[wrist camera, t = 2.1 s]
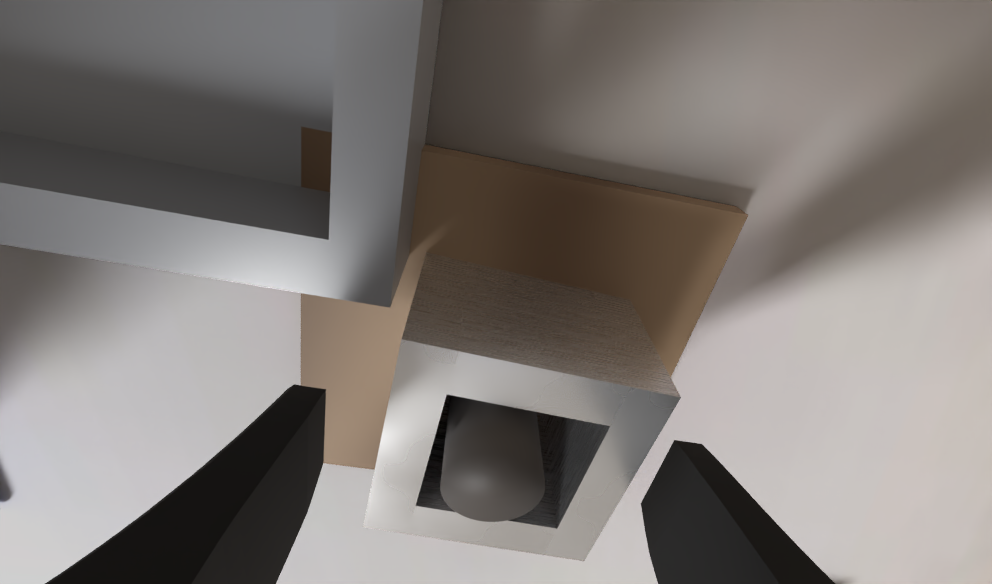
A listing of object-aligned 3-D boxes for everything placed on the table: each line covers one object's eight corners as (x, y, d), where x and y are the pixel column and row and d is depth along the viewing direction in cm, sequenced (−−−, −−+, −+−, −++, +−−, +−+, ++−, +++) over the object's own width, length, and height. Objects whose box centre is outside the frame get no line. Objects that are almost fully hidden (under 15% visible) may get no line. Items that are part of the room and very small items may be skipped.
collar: (392, 412, 14) (363, 527, 10) (426, 252, 11) (401, 339, 8) (563, 444, 14) (584, 561, 11) (630, 300, 12) (680, 397, 9)
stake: (307, 445, 15) (236, 606, 11) (311, 121, 10) (187, 184, 6) (608, 484, 16) (649, 644, 12) (736, 206, 11) (880, 309, 7)
